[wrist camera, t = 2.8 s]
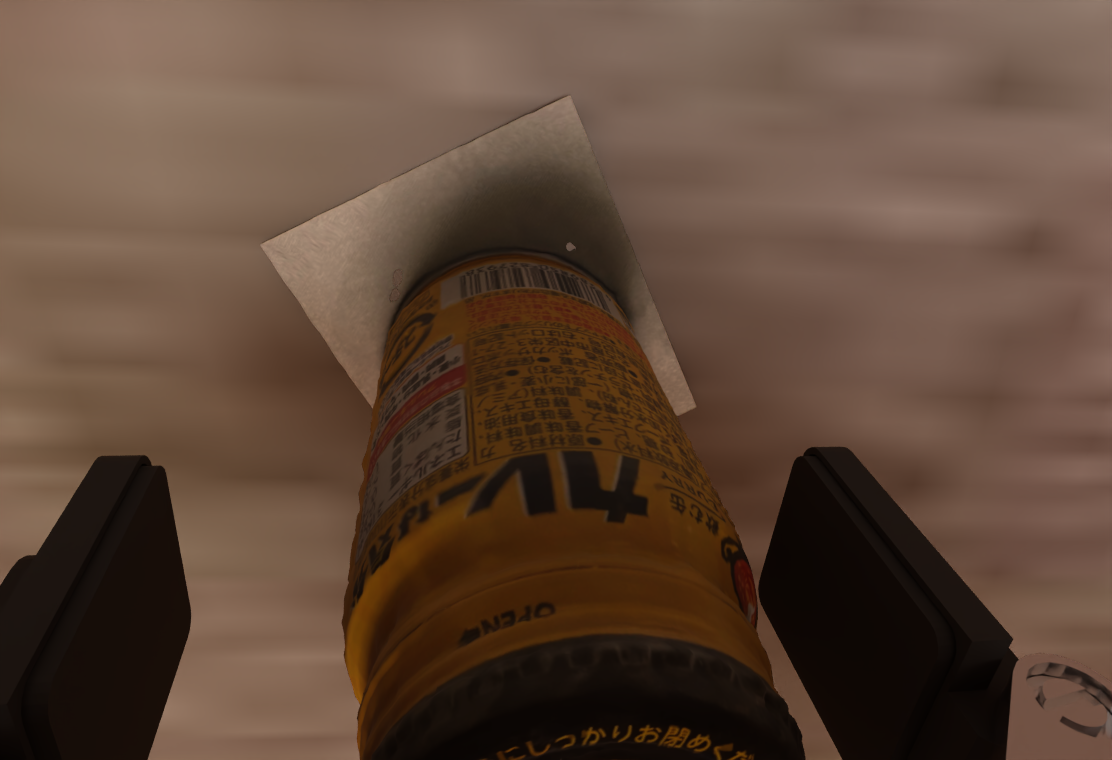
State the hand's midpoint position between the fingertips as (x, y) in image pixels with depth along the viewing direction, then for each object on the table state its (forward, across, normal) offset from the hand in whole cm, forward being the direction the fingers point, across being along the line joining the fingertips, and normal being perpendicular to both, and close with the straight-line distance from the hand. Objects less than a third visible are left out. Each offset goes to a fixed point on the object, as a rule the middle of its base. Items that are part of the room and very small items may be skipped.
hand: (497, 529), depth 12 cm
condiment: (+8, -1, 0) cm, 8 cm away
